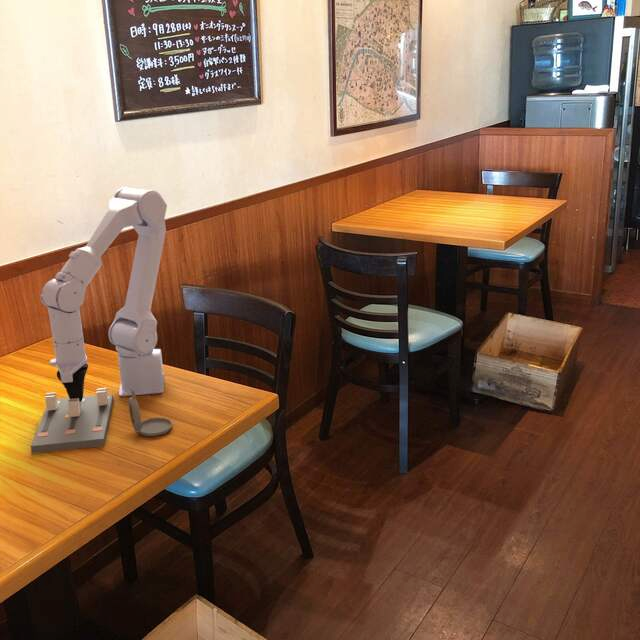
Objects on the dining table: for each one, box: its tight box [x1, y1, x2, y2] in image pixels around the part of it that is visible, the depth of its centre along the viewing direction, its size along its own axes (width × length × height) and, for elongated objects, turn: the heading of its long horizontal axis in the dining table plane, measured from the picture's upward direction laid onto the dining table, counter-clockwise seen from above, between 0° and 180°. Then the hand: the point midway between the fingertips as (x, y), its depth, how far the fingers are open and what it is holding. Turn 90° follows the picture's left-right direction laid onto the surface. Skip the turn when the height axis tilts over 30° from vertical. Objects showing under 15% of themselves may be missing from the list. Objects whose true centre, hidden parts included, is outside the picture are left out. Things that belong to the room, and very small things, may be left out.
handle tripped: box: [68, 398, 81, 417], centre depth 138 cm, size 2×2×3 cm
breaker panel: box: [30, 393, 115, 454], centre depth 137 cm, size 13×20×2 cm, turn 11°
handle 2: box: [95, 387, 108, 406], centre depth 142 cm, size 2×2×3 cm
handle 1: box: [44, 391, 58, 411], centre depth 140 cm, size 2×2×3 cm
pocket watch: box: [128, 387, 173, 437], centre depth 133 cm, size 8×8×10 cm
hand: (77, 400), depth 141 cm, fingers closed
